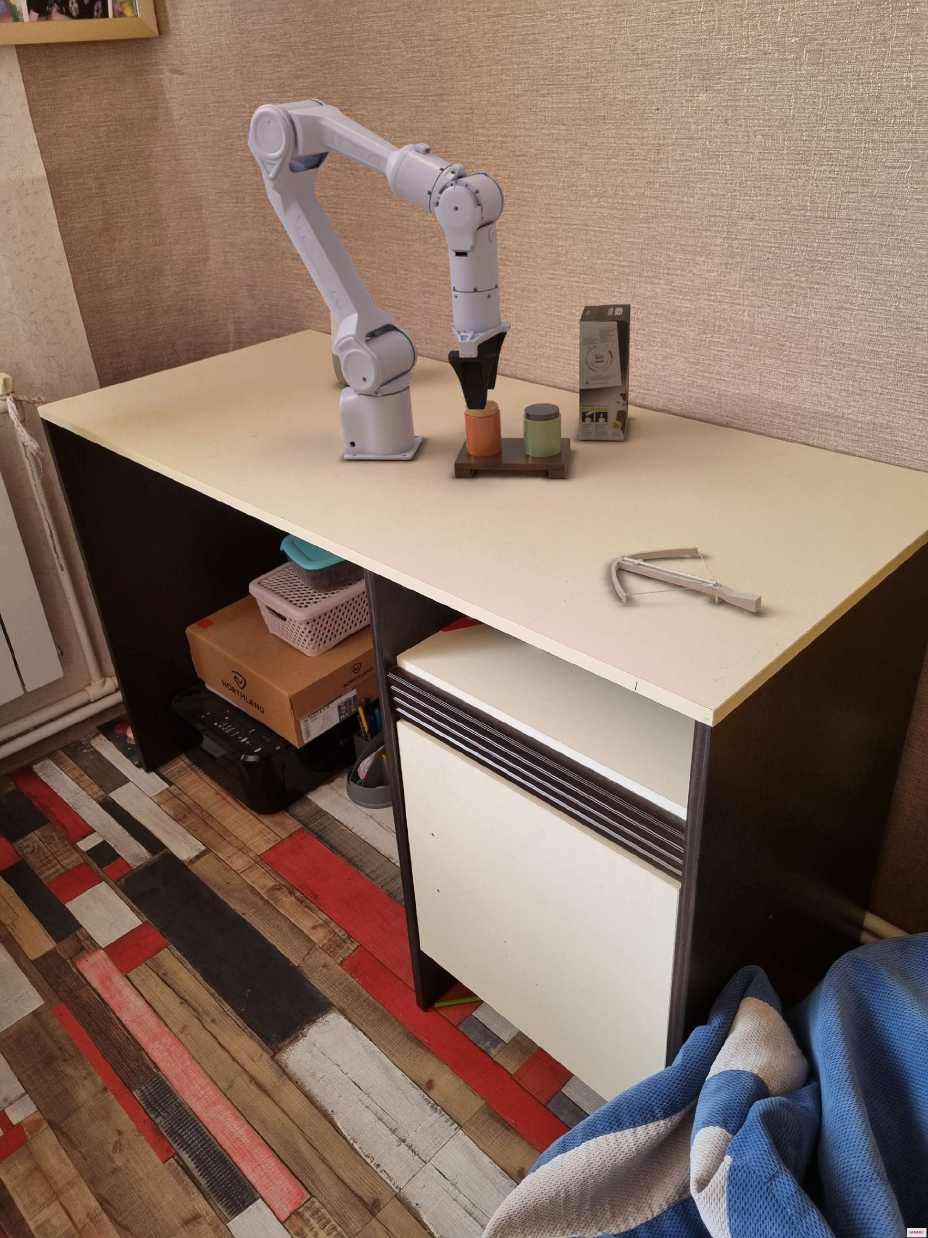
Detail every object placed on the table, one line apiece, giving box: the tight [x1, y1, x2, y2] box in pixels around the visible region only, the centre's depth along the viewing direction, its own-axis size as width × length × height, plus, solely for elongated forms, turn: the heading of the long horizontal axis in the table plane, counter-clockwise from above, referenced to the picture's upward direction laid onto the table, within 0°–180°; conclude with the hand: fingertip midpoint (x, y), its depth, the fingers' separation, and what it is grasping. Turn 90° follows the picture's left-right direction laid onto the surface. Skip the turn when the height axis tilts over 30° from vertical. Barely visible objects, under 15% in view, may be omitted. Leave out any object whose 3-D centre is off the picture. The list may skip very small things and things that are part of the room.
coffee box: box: [578, 303, 632, 442], centre depth 128 cm, size 9×6×16 cm
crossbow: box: [610, 545, 762, 614], centre depth 93 cm, size 16×13×2 cm
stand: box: [453, 437, 572, 480], centre depth 123 cm, size 14×9×2 cm, turn 80°
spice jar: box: [463, 399, 503, 457], centre depth 121 cm, size 5×5×6 cm
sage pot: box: [522, 402, 562, 457], centre depth 120 cm, size 5×5×6 cm
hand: (481, 398), depth 119 cm, fingers open, 7 cm apart
